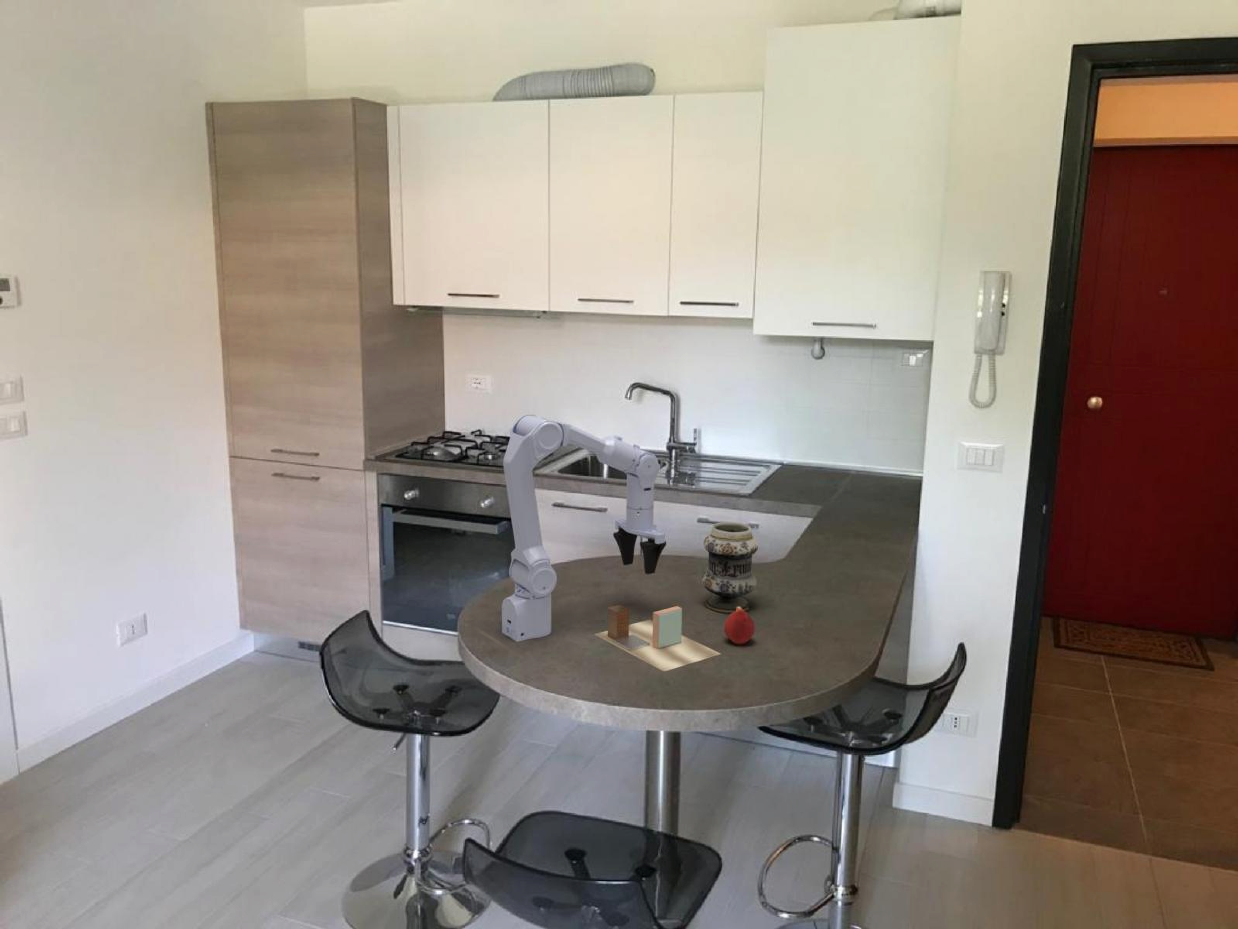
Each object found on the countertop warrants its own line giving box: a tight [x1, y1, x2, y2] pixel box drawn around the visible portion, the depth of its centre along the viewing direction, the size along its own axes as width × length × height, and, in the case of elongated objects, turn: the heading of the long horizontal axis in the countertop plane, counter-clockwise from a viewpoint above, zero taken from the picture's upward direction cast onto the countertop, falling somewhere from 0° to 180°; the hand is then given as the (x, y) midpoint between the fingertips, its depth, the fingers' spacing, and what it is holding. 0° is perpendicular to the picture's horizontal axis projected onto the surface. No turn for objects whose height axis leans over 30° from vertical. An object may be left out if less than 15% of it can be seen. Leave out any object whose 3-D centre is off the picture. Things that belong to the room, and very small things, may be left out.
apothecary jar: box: [701, 521, 759, 614], centre depth 205 cm, size 12×12×18 cm
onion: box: [723, 607, 756, 645], centre depth 183 cm, size 6×6×8 cm
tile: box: [652, 605, 683, 649], centre depth 181 cm, size 6×2×7 cm, turn 126°
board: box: [593, 619, 722, 673], centre depth 182 cm, size 14×22×1 cm, turn 37°
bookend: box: [607, 604, 650, 651], centre depth 183 cm, size 5×8×6 cm, turn 36°
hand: (638, 568), depth 199 cm, fingers open, 7 cm apart
